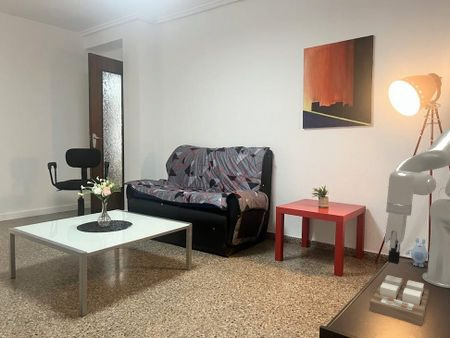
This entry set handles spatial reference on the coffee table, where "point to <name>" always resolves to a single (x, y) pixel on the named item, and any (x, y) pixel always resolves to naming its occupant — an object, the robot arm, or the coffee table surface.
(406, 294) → the button
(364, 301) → the coffee table surface
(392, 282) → the button
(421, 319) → the button board
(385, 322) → the coffee table surface
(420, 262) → the toy figure
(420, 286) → the button
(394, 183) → the robot arm
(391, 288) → the button
